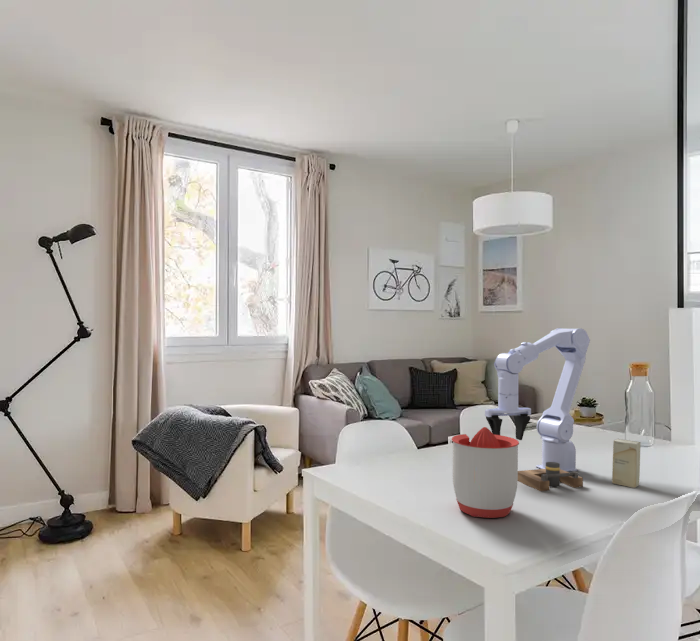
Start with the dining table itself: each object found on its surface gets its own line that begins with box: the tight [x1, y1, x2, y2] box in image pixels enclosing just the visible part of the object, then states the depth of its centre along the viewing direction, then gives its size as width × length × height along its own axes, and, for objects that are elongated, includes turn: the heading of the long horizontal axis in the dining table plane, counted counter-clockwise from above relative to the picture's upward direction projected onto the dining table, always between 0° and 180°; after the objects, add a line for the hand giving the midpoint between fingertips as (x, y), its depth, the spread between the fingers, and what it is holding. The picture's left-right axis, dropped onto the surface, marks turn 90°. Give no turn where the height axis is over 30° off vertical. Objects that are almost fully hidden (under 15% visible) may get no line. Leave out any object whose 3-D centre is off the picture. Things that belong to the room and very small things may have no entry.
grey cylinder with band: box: [546, 462, 561, 488], centre depth 153 cm, size 4×4×6 cm
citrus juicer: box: [451, 426, 520, 519], centre depth 132 cm, size 16×17×20 cm
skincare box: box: [611, 438, 642, 489], centre depth 154 cm, size 6×4×12 cm
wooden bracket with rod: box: [517, 468, 584, 492], centre depth 154 cm, size 14×11×4 cm
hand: (507, 440), depth 162 cm, fingers open, 7 cm apart
